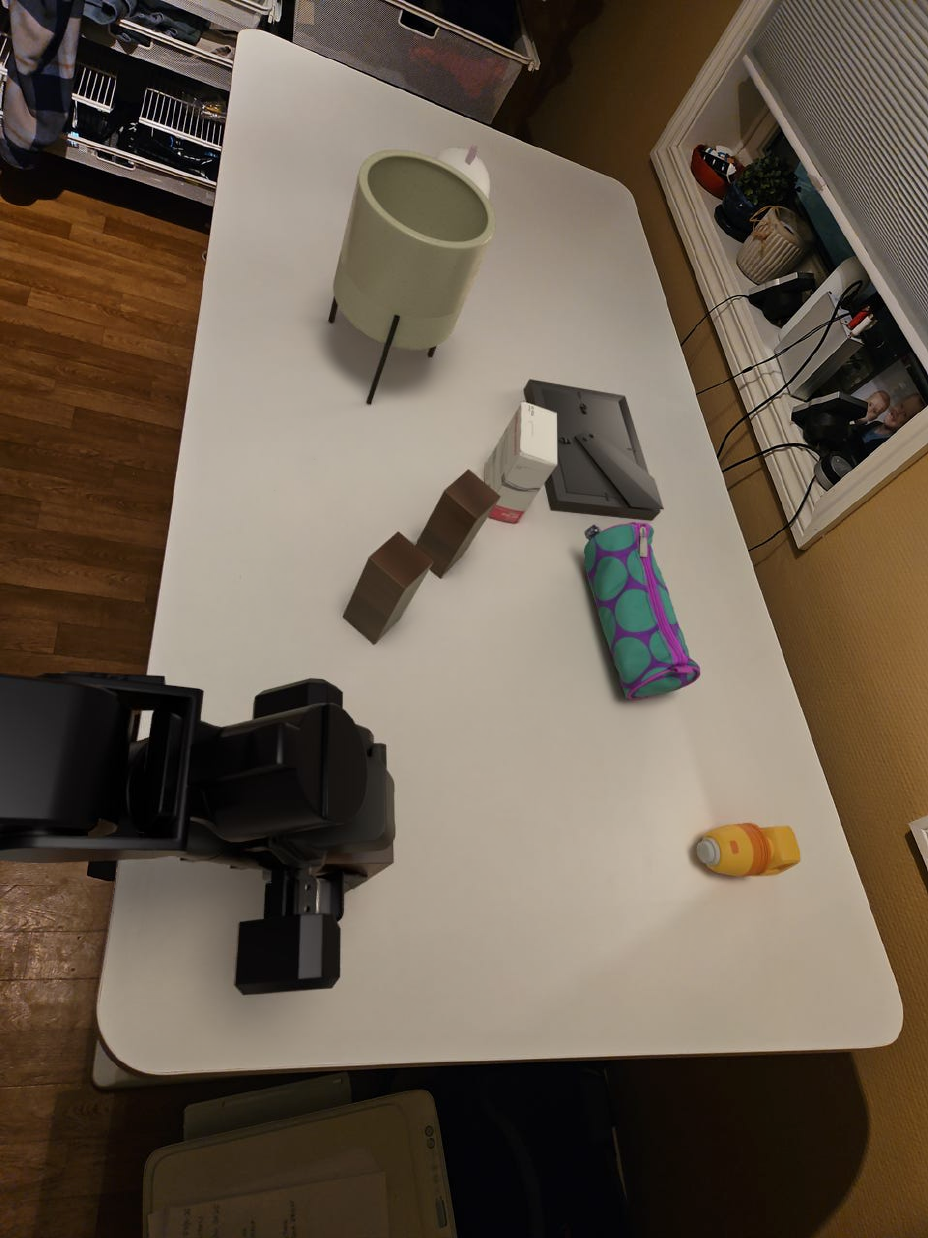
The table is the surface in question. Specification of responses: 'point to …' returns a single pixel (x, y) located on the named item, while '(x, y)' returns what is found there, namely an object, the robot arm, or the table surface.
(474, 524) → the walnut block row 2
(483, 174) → the ornament
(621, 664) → the pencil case
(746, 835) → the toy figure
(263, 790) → the robot arm
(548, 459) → the ink box
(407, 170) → the planter
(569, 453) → the picture frame
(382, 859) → the walnut block loose
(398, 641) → the table surface
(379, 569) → the walnut block
